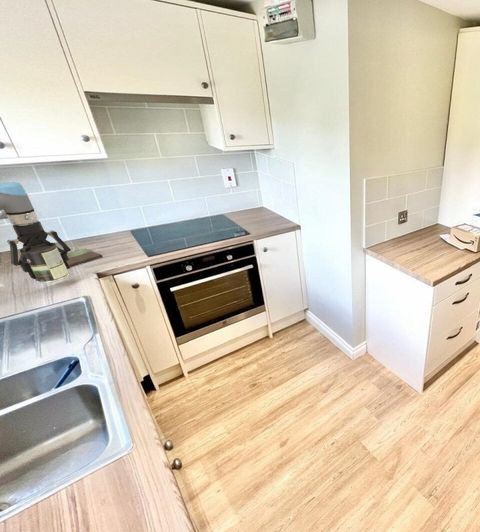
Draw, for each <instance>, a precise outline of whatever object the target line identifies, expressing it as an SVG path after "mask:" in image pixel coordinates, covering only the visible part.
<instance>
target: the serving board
mask: <svg viewBox="0 0 480 532" xmlns="http://www.w3.org/2000/svg"><path fill="white" fill-rule="evenodd" d="M67 256H68V258H69V260H68V261H67V263H68V265H69V267H70V268H72V267H77V266H79V264H80V265H82V263H83V264H86V263H89V262H93V261H95V260H99V259H102V258H103V255H102V254H100V253H98V252H95V251H93V250H91V249H88V248H83V249H82V248H81V249H79V250H75V251H72V252H71V251H70V252H67Z"/></svg>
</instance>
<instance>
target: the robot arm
mask: <svg viewBox="0 0 480 532" xmlns="http://www.w3.org/2000/svg"><path fill="white" fill-rule="evenodd" d="M0 211H4V213H5V215H6V217H7V219H8V221H9V222H10V224H11V225H12V229H13V230H14V232H15V234H16V238H15V239H8V240H7V241H6V242H7V244H8V245H9V251H10V252H9V253H10V263H11V265H13V266H14V267H15V266H16V267H17V266H19V267H20V268H21V269H22V271H23V272H24V273H27V274H28V275H29V278H31V279H32V280H35V279H36V277H35V275H34V273H33V271H32V269H31V267H30V265H29V264H27V263H26V261H27V259H26V257H25V255H24V254H22V253H21V252H20V256H19V250H18V245H19V243H22V248H23V249H22V248H21V249H22V251H24V252H27V251H30V249H31V246H36V245H41V244H43V243H45V244H47V245H49V246H51V245H54V244H52V243H53V242H51V241H49V240H47V238H48V236H50V237H51V238H53V240H55V241H56V242H57V244H58V245H60V247H59V246H57V249H58V251H59V253H60V255H61V257H62V259H63V261H64V264H65V266H66V268H67V270H70V268H71V267H69V265H68V263H67V261H68V260H69V258H68V256H67V254H68V253H70V252H71V251H72V249H71V248H70V247H69V245H67V244H66V242H64V241H63V240H62V239H61V238H60V236H59V234H58V232H57V231H55V230H49V231H45V229H44V227H43V225H42V223H41V221H40V219H39V217H38V214H37V212H36V211H35V209H34V207H33V204H32V202H31V200H30V198H29V195H28V193H27V192H26V190H25V189H24V187H23V185H22V184H21V183H20V182H16V181H3V182H0ZM61 247H62V248H61Z"/></svg>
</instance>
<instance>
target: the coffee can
mask: <svg viewBox="0 0 480 532" xmlns="http://www.w3.org/2000/svg"><path fill="white" fill-rule="evenodd" d="M51 243H52V244H54V245H51V246H49V245H47V244H45V243H43V244H41V245H36V246H31V249H30V251H27V252H24V251H22V249H23V247H22V248H20V249H19V252H20V254H21V253H22V254H24V255H25V257H26V259H27V261H26V263H27V264H29V265H30V267H31V269H32V271H33V273H34V275H35V277H36V279H34V280H35V283H38V284H50V283H54V282H58V281H62V280H64V279H66V278H68V277H69V276H70V272H69V269H67V268H66V266H65V264H64V261H63V259H62V257H61V255H60V252H59V251H58V249H57V247H58V246H57V243H55V242H51Z"/></svg>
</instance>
